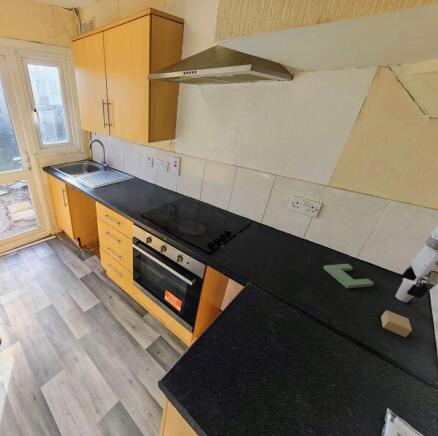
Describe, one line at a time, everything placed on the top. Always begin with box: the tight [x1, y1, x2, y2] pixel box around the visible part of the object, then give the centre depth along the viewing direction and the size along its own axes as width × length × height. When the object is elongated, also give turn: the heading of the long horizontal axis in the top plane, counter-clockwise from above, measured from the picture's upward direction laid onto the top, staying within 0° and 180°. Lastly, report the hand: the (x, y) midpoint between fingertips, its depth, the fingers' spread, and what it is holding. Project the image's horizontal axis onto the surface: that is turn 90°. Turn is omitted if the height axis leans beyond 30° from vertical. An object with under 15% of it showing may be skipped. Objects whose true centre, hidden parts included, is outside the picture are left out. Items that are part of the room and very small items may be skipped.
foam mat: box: [322, 263, 375, 289], centre depth 105 cm, size 13×13×2 cm
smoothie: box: [394, 277, 424, 303], centre depth 91 cm, size 6×6×14 cm
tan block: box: [380, 309, 413, 338], centre depth 82 cm, size 6×6×4 cm
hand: (410, 286), depth 76 cm, fingers open, 9 cm apart
